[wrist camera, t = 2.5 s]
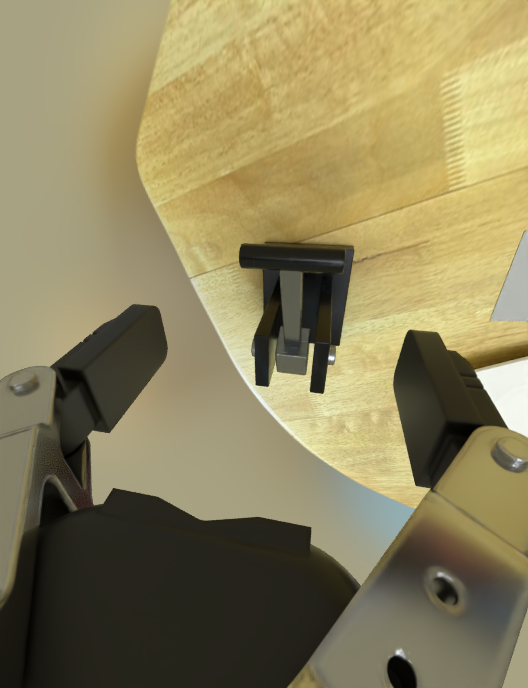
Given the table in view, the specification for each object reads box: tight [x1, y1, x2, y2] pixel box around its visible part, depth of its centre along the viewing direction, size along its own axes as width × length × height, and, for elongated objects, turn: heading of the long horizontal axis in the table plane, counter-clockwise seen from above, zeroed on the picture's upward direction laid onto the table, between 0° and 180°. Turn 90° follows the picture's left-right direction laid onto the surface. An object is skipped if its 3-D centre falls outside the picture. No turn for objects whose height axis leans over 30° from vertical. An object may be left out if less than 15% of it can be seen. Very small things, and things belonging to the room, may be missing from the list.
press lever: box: [239, 243, 346, 375], centre depth 19 cm, size 11×5×2 cm, turn 0°
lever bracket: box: [251, 242, 354, 394], centre depth 26 cm, size 10×8×12 cm
